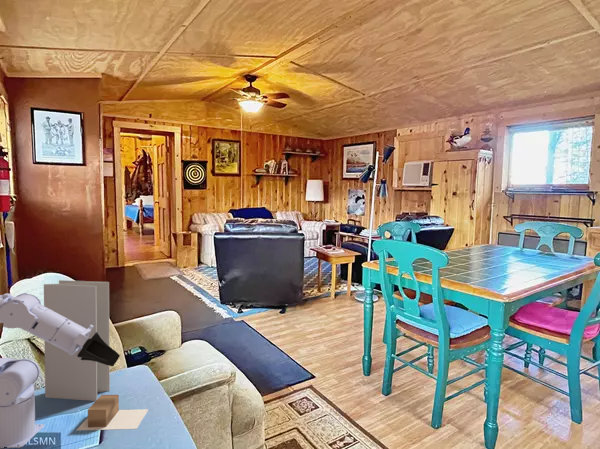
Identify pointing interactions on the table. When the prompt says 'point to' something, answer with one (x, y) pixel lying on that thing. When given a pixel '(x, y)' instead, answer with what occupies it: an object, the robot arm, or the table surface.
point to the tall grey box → (71, 369)
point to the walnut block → (103, 410)
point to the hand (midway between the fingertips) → (116, 361)
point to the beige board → (120, 420)
